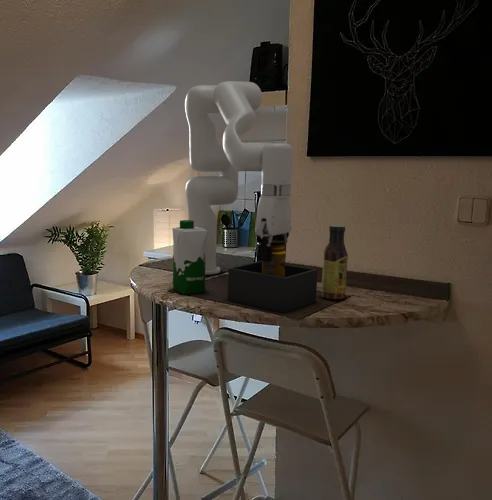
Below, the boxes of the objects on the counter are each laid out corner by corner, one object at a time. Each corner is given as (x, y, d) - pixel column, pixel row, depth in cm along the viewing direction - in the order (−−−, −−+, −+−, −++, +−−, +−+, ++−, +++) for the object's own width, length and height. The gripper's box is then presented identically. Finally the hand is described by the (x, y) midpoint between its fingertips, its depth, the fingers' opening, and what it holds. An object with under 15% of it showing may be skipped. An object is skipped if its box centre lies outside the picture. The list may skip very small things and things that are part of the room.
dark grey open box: (227, 300, 156) (228, 268, 155) (260, 290, 167) (261, 260, 166) (284, 313, 144) (286, 278, 143) (316, 301, 155) (317, 269, 154)
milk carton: (195, 286, 173) (196, 219, 169) (210, 293, 164) (211, 222, 161) (168, 288, 169) (169, 220, 166) (182, 295, 161) (183, 224, 158)
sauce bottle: (341, 301, 155) (346, 228, 152) (318, 298, 158) (322, 226, 155) (347, 296, 160) (352, 225, 157) (324, 293, 164) (328, 223, 160)
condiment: (291, 286, 154) (293, 241, 152) (268, 290, 149) (270, 244, 147) (271, 281, 160) (272, 237, 158) (248, 284, 155) (250, 240, 153)
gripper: (281, 189, 160) (278, 253, 163) (244, 192, 148) (242, 261, 151) (305, 190, 154) (302, 257, 157) (269, 193, 142) (266, 266, 145)
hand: (272, 258), depth 154 cm, fingers closed on condiment, 6 cm apart
